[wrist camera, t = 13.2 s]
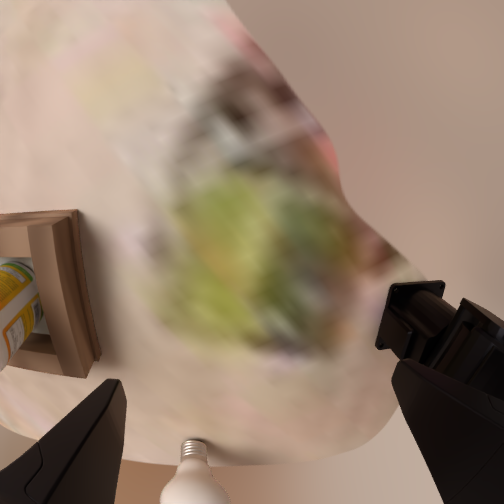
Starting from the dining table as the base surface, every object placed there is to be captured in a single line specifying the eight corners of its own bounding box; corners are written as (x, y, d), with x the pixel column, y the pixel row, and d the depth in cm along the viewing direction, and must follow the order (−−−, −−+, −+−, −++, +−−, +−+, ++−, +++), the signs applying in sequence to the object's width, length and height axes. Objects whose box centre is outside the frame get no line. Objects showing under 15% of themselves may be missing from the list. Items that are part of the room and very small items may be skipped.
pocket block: (77, 209, 18) (54, 221, 15) (101, 354, 22) (89, 381, 19) (-33, 217, 17) (-58, 228, 13) (-2, 340, 20) (-19, 360, 17)
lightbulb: (178, 460, 28) (178, 541, 17) (153, 429, 26) (145, 522, 15) (231, 452, 28) (243, 536, 18) (212, 420, 26) (220, 519, 16)
